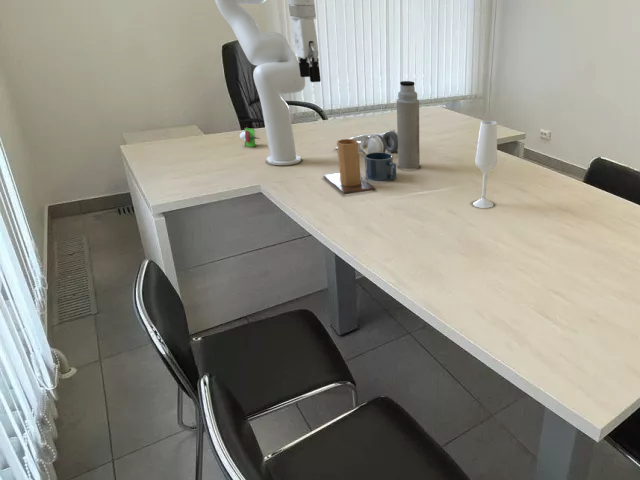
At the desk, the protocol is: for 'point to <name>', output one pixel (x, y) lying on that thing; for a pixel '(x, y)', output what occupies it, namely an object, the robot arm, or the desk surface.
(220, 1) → the robot arm
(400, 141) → the thermos bottle
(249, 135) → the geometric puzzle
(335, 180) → the serving board
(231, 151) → the desk surface
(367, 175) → the mug
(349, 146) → the paper cup
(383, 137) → the headphones
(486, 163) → the champagne flute
